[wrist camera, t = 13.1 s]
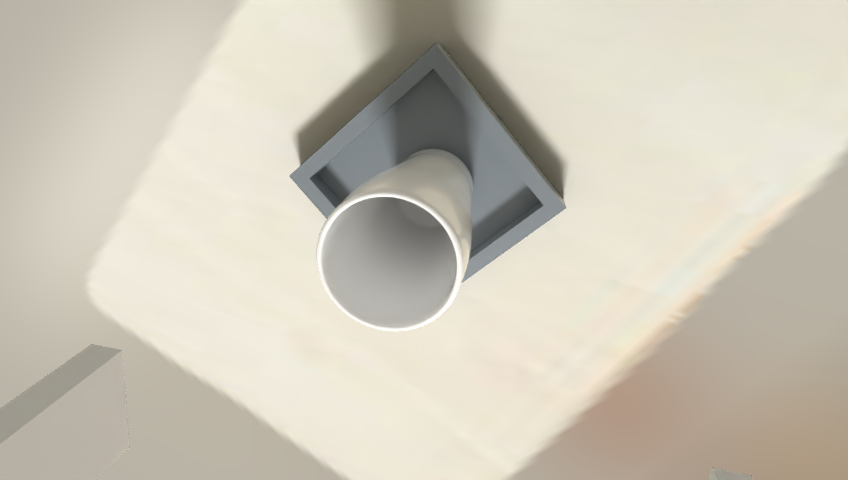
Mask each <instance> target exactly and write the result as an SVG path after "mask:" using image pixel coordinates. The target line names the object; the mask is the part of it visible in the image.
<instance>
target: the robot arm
mask: <svg viewBox="0 0 848 480" xmlns="http://www.w3.org/2000/svg"><path fill="white" fill-rule="evenodd" d="M129 447H130V444H129V432H128V419H127V407H126V395H125V382H124V370H123V357H122V350H118V349H113V348H108V347H103V346H98V345H93V344H91V345H90V346H88V347H87V348H86V349H85V350H83V351H81V352H80V353H79V354H77V355H76V356H74V357H73V358H72V359H70V360H69V361H67V362H66V363H64V364H63V365H62V366H60V367H59V368H57V369H56V370H54V371H53V372H52V373H50V374H49V375H47V376H46V377H45V378H43V379H42V380H40V381H39V382H37V383H36V384H35V385H33V386H32V387H30V388H29V389H27V390H26V391H24V392H23V393H22V394H20V395H19V396H17V397H16V398H15V399H13V400H12V401H10V402H9V403H7V404H6V405H5V406H3V407H2V408H0V480H98V479H99V478H100V477H101V476H102V475H103V474H104V473H105V472H106V471H107V470H108V468H109V467H111V465H113V463H114V462H115V461H116V460H117V459H118V458H119V457H120V456H121V455H122V454H123V453H124V452H125V451H126V450H127V449H128V448H129ZM708 480H754V479H753V477H752V476H751V475H746V474H742V473H737V472H732V471H727V470H722V469H716V468H712V470H711V473H710V476H709V479H708Z"/></svg>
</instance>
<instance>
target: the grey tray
mask: <svg viewBox="0 0 848 480" xmlns="http://www.w3.org/2000/svg"><path fill="white" fill-rule="evenodd" d="M425 149H441V150H445V151H448V152H450V153H452V154H454V155H455V156H457V157H458V158H459V159H460V160H461V161H462V162H463V163H464V164H465V165H466V167H467V168H468V170H469V172H470V174H471V177H472V180H473V198H472V245H471V252H470V257H469V261H468V265H467V269H466V272H465V275H464V278H463V280H462V282H464V281H465V280H467V279H468V278H469V277H471V276H472V275H474V274H475V273H476V272H478V271H479V270H480V269H482V268H483V267H485V266H486V265H487V264H489V263H490V262H492V261H493V260H494V259H496V258H497V257H499V256H500V255H501V254H503V253H504V252H506V251H507V250H508V249H510V248H511V247H513V246H514V245H515V244H517V243H518V242H520V241H521V240H522V239H524V238H525V237H527V236H528V235H529V234H531V233H532V232H533V231H535V230H536V229H538V228H539V227H540V226H542V225H543V224H545V223H546V222H547V221H549V220H550V219H552V218H553V217H554V216H556V215H557V214H559V213H560V212H561V211H563V210H564V209H566V206H565V202H564V199H563V198H562V197H561V196H560V194H559V193H558V192H557V190H556V189H555V188H554V187H553V185H552V184H551V183H550V182H549V180H548V179H547V178H546V177H545V175H544V174H543V173H542V172H541V170H540V169H539V168H538V167H537V165H536V164H535V163H534V161H533V160H532V159H531V158H530V156H529V155H528V154H527V153H526V151H525V150H524V149H523V148H522V146H521V145H520V144H519V143H518V141H517V140H516V139H515V138H514V136H513V135H512V134H511V132H510V131H509V130H508V129H507V127H506V126H505V125H504V124H503V122H502V121H501V120H500V119H499V117H498V116H497V115H496V114H495V112H494V111H493V110H492V109H491V107H490V106H489V105H488V103H487V102H486V101H485V100H484V98H483V97H482V96H481V95H480V93H479V92H478V91H477V90H476V88H475V87H474V86H473V85H472V83H471V82H470V81H469V80H468V78H467V77H466V76H465V75H464V73H463V72H462V71H461V69H460V68H459V67H458V66H457V64H456V63H455V62H454V61H453V59H452V58H451V57H450V56H449V54H448V53H447V52H446V51H445V49H444V48H443V47H442V46H441V44H435V45H433V46H432V47H431V48H430V49H429V50H428V51H427V52H426V53H425V54H424V55H422V56H421V57H420V58H419V59H418V60H417V61H416V62H415V63H414V64H413V65H411V66H410V67H409V68H408V69H407V70H406V71H405V72H404V73H403V74H401V75H400V76H399V77H398V78H397V79H396V80H395V81H394V82H393V83H392V84H390V85H389V86H388V87H387V88H386V89H385V90H384V91H383V92H382V93H380V94H379V95H378V96H377V97H376V98H375V99H374V100H373V101H372V102H371V103H369V104H368V105H367V106H366V107H365V108H364V109H363V110H362V111H361V112H359V113H358V114H357V115H356V116H355V117H354V118H353V119H352V120H351V121H350V122H348V123H347V124H346V125H345V126H344V127H343V128H342V129H341V130H340V131H338V132H337V133H336V134H335V135H334V136H333V137H332V138H331V139H330V140H329V141H327V142H326V143H325V144H324V145H323V146H322V147H321V148H320V149H319V150H317V151H316V152H315V153H314V154H313V155H312V156H311V157H310V158H309V159H308V160H306V161H305V162H304V163H303V164H302V165H301V166H300V167H299V168H298V169H296V170H295V171H294V172H293V173H292V174H291V175H290V178H291V179H292V180H293V181H294V182H295V183H296V184H297V185H298V187H299V188H300V189H301V190H302V191H303V192H304V193H305V195H306V196H307V197H308V198H309V199H310V200H311V201H312V203H313V204H314V205H315V206H316V207H317V208H318V209H319V211H320V212H321V213H322V214H323V215H324V216H325V217H326V219H327V218H328V217H329V215H330V214H331V213H332V212H333V211H334V210H335V209H336V208H337V206H338V205H339V204H340V203H341V202H342V201H343V200H344V199H345V198H346V197H347V196H348V195H349V194H350V193H351V192H352V191H353V190H354V189H356V188H357V187H358V186H359V185H361V184H362V183H363V182H365V181H366V180H368V179H369V178H371V177H373V176H374V175H376V174H378V173H380V172H382V171H384V170H386V169H388V168H391V167H393V166H395V165H397V164H399V163H401V162H403V161H404V160H406V159H407V158H408V157H409V156H411V155H412V154H414V153H416V152H418V151H421V150H425Z"/></svg>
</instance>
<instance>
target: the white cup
mask: <svg viewBox="0 0 848 480" xmlns="http://www.w3.org/2000/svg"><path fill="white" fill-rule="evenodd" d="M472 198H473V180H472V177H471V174H470V172H469V170H468V168H467V167H466V165H465V164H464V163H463V162H462V161H461V160H460V159H459V158H458V157H457V156H455V155H454V154H452V153H450V152H448V151H445V150H441V149H425V150H421V151H418V152H416V153H414V154H412V155H411V156H409V157H408V158H407V159H406V160H404V161H403V162H401V163H399V164H397V165H395V166H393V167H391V168H388V169H386V170H384V171H382V172H380V173H378V174H376V175H374V176H373V177H371V178H369V179H368V180H366V181H365V182H363V183H362V184H361V185H359V186H358V187H357V188H356V189H354V190H353V191H352V192H351V193H350V194H349V195H348V196H347V197H346V198H345V199H344V200H343V201H342V202H341V203H340V204H339V205H338V206H337V208H336V209H335V210H334V211H333V212H332V213H331V214H330V215H329V217H328V218H327V220H326V221H325V223H324V225H323V227H322V229H321V232H320V234H319V238H318V242H317V248H316V262H317V269H318V273H319V276H320V279H321V282H322V284H323V286H324V288H325V290H326V292H327V294H328V295H329V296H330V298H331V299H332V301H333V302H334V303H335V304H336V305H337V306H338V307H339V308H340V309H341V310H342V311H343V312H344V313H345V314H347V315H348V316H350V317H351V318H353V319H354V320H356V321H358V322H360V323H362V324H364V325H366V326H369V327H372V328H376V329H380V330H386V331H404V330H410V329H414V328H418V327H421V326H423V325H426V324H428V323H430V322H431V321H433V320H435V319H436V318H437V317H439V316H440V315H441V314H442V313H443V312H444V311H445V310H446V309H447V308H448V307H449V306H450V305H451V303H452V302H453V300H454V299H455V297H456V295H457V293H458V291H459V288H460V286H461V283H462V280H463V278H464V275H465V272H466V269H467V265H468V261H469V257H470V252H471V245H472Z"/></svg>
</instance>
